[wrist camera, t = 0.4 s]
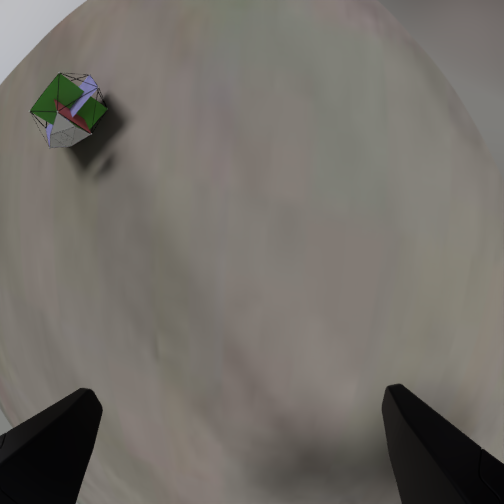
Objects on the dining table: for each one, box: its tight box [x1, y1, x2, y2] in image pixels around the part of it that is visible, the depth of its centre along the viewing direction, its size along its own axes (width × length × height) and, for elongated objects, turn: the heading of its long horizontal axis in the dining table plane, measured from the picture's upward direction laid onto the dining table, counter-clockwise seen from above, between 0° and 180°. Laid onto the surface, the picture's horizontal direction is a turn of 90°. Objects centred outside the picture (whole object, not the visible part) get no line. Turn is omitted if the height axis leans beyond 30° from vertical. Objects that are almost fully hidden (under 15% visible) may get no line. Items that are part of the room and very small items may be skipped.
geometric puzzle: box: [29, 72, 108, 149], centre depth 21 cm, size 7×7×8 cm
